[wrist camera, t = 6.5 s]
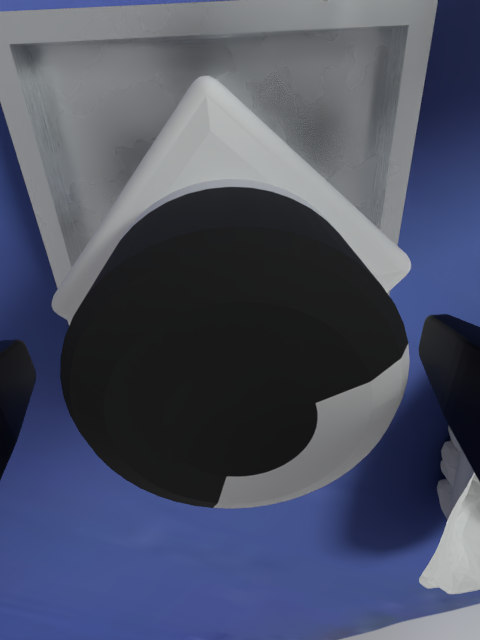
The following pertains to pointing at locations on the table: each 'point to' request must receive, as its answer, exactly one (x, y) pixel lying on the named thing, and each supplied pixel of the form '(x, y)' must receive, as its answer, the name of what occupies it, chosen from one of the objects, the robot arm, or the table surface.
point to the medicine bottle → (232, 318)
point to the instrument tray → (232, 72)
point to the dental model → (457, 526)
